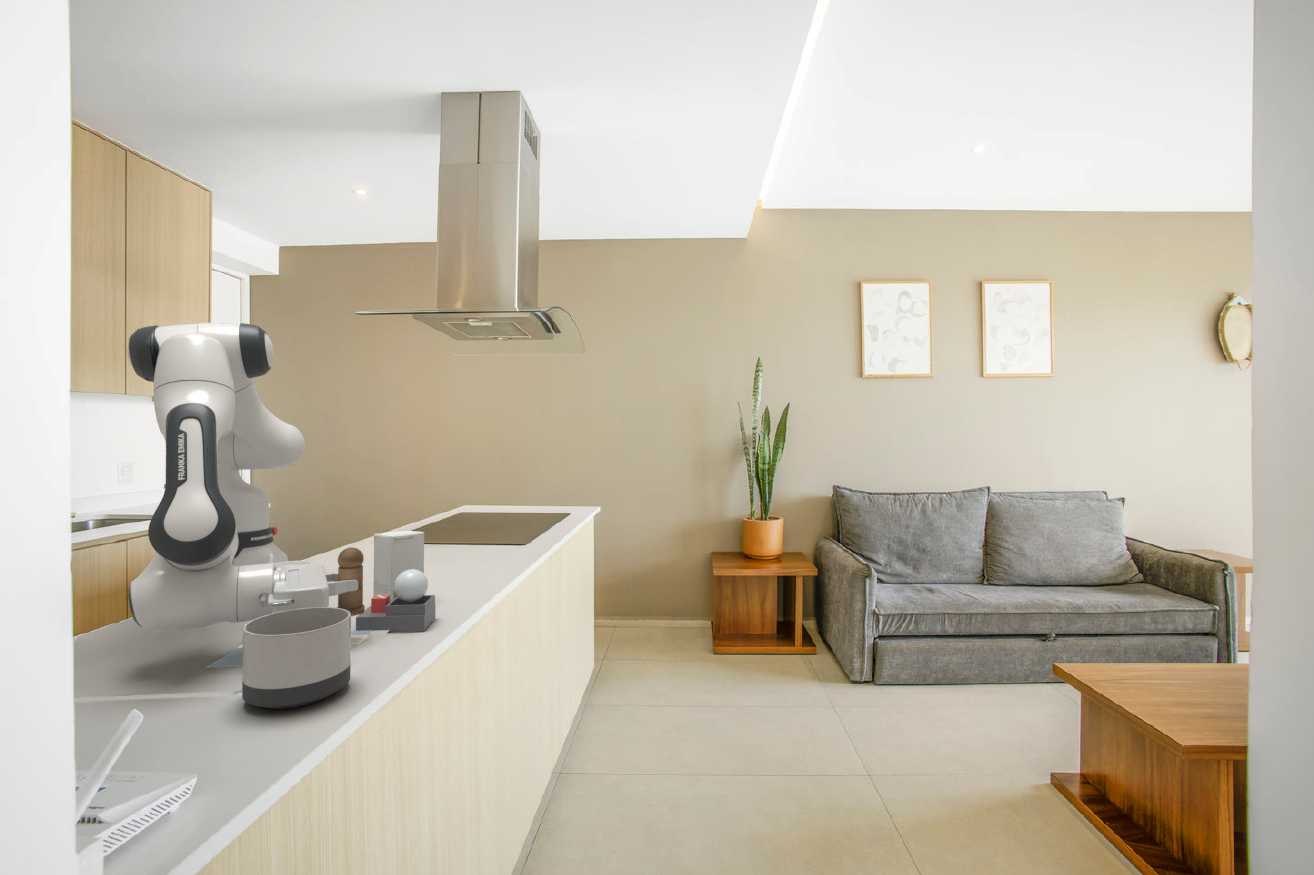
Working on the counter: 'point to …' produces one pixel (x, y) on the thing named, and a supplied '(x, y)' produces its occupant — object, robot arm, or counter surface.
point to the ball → (411, 585)
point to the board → (236, 656)
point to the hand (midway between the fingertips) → (356, 581)
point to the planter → (296, 657)
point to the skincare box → (396, 558)
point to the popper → (397, 614)
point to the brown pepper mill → (351, 569)
